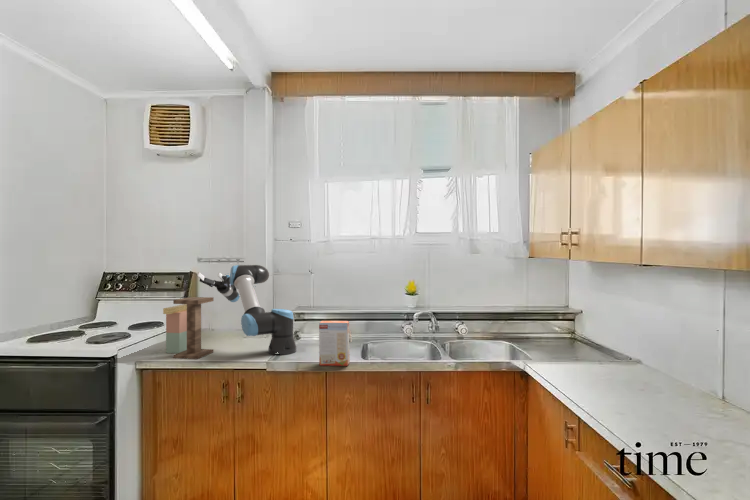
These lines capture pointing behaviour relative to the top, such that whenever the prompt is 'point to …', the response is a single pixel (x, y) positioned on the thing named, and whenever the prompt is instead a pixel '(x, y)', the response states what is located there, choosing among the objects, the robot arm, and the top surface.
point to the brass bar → (175, 309)
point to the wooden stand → (193, 327)
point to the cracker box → (334, 343)
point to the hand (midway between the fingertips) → (208, 274)
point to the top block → (176, 322)
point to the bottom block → (176, 342)
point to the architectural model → (350, 336)
